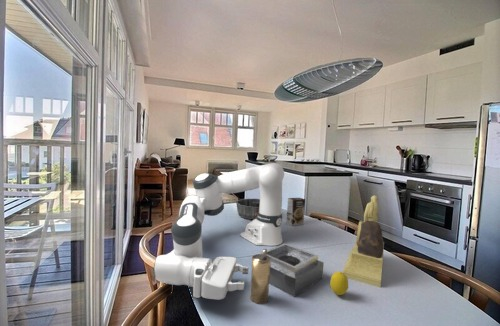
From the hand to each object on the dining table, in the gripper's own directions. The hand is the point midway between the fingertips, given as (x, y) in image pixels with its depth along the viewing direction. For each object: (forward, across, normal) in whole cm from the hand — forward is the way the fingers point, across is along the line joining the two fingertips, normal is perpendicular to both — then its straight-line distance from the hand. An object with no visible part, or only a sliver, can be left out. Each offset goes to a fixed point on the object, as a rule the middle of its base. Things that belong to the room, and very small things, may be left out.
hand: (246, 277), depth 80 cm
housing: (+14, -16, -6) cm, 22 cm away
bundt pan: (-7, -92, -7) cm, 92 cm away
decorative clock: (+45, -31, -7) cm, 55 cm away
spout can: (+4, 0, -6) cm, 8 cm away
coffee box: (+19, -83, -6) cm, 86 cm away
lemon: (+30, -8, -6) cm, 31 cm away
